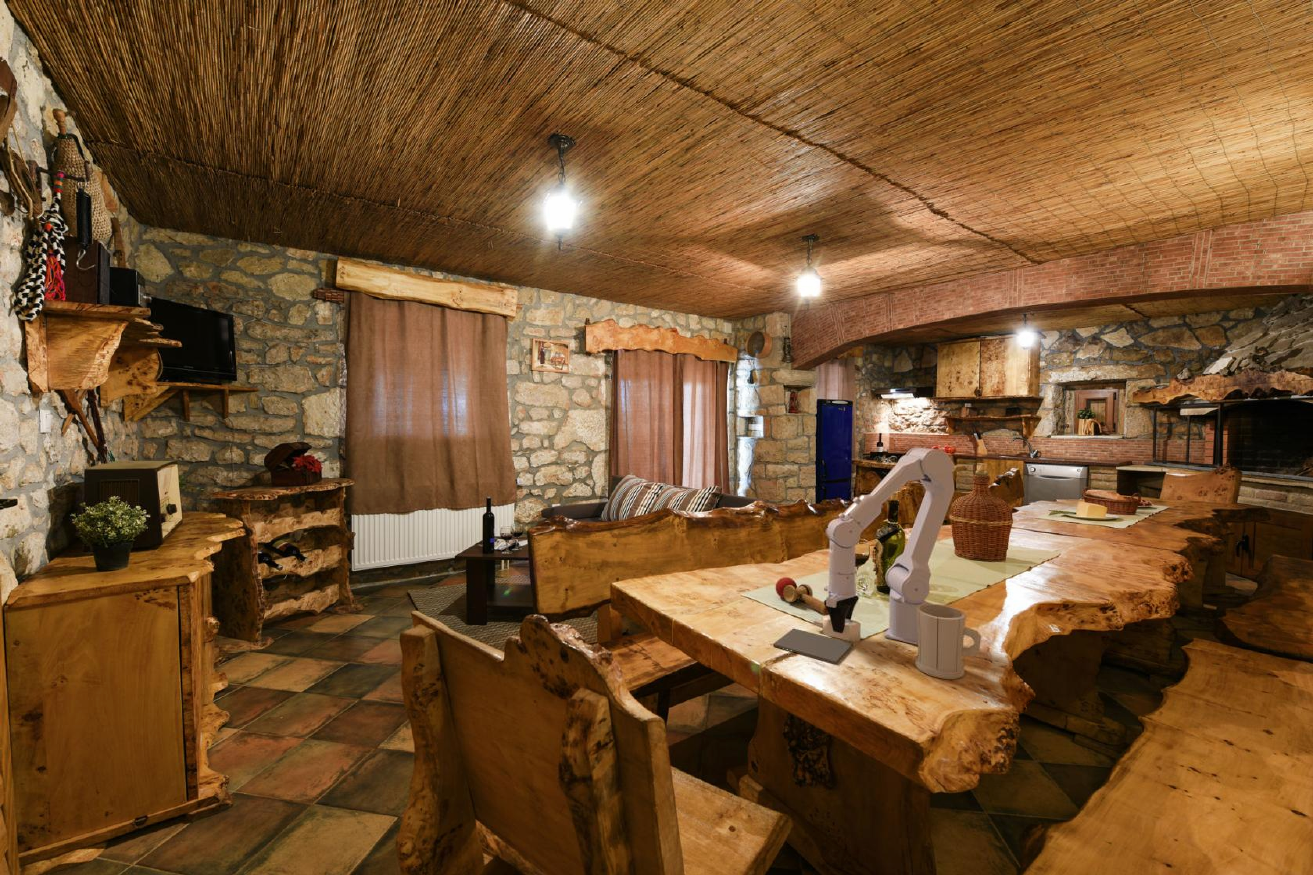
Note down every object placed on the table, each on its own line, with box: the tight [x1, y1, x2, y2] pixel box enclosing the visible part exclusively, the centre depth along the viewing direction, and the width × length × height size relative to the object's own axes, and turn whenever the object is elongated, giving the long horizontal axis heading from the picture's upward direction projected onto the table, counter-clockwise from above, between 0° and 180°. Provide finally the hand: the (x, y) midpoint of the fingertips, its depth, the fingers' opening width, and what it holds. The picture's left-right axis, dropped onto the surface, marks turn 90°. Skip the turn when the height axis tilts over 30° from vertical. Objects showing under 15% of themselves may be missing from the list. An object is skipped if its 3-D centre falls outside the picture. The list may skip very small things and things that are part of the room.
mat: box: [772, 627, 854, 665], centre depth 118 cm, size 14×11×1 cm
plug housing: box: [812, 615, 861, 643], centre depth 125 cm, size 11×4×4 cm, turn 52°
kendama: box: [775, 576, 829, 616], centre depth 145 cm, size 8×6×18 cm
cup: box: [914, 603, 982, 680], centre depth 107 cm, size 10×9×12 cm
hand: (841, 628), depth 124 cm, fingers closed on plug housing, 4 cm apart
